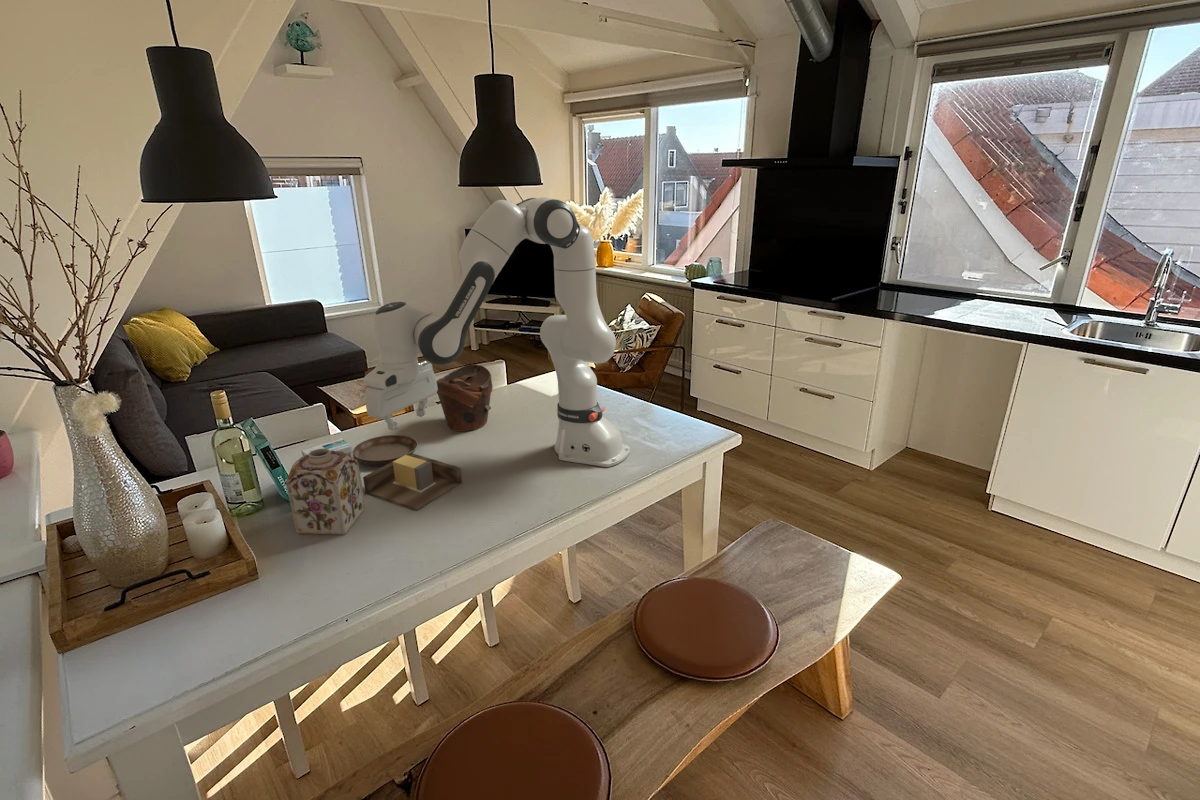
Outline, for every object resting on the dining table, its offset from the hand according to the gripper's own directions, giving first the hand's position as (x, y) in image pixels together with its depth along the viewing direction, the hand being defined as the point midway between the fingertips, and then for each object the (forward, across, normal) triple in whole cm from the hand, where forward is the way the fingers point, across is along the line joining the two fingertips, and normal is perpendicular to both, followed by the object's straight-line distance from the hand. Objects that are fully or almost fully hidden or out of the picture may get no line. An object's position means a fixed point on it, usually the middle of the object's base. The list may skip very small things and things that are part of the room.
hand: (407, 422), depth 151 cm
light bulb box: (+18, +11, -19) cm, 28 cm away
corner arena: (+18, +2, +1) cm, 18 cm away
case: (+19, -37, -15) cm, 44 cm away
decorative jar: (+18, +23, -4) cm, 29 cm away
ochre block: (+17, 0, 0) cm, 17 cm away
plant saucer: (+18, -8, -20) cm, 29 cm away
